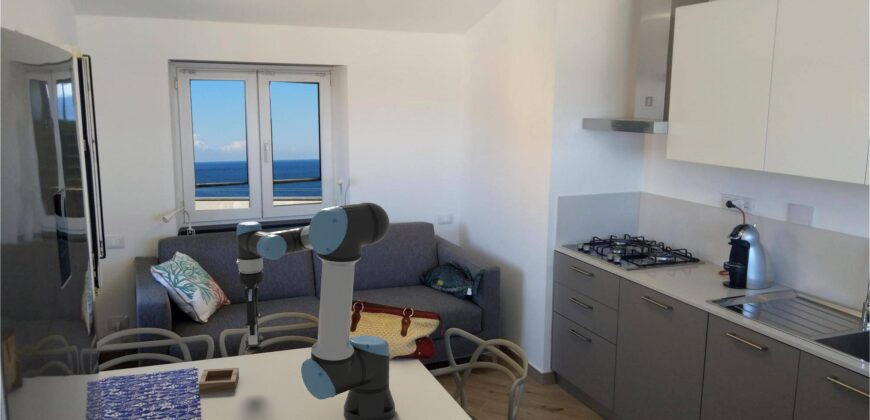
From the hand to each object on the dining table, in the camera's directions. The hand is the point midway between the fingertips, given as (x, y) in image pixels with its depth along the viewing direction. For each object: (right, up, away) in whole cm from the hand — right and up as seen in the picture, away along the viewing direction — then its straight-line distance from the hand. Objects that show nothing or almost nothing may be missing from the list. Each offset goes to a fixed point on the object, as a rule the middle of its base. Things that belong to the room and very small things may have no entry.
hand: (253, 340), depth 213 cm
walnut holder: (-11, -15, +1) cm, 18 cm away
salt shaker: (0, -3, +1) cm, 3 cm away
